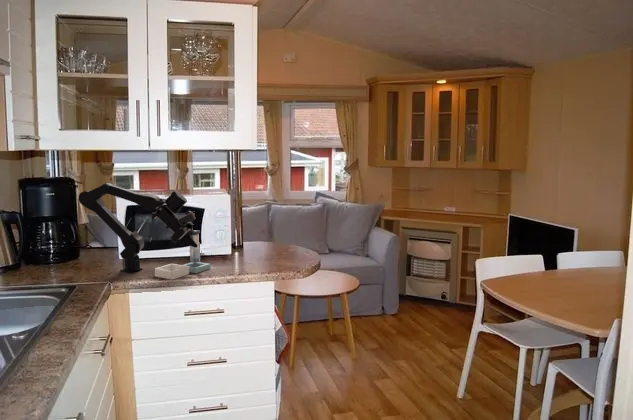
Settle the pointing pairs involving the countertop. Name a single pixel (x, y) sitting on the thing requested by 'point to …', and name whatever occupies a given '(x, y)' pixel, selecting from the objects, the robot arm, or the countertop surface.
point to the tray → (171, 271)
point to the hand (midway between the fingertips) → (198, 245)
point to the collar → (197, 267)
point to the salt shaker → (194, 251)
